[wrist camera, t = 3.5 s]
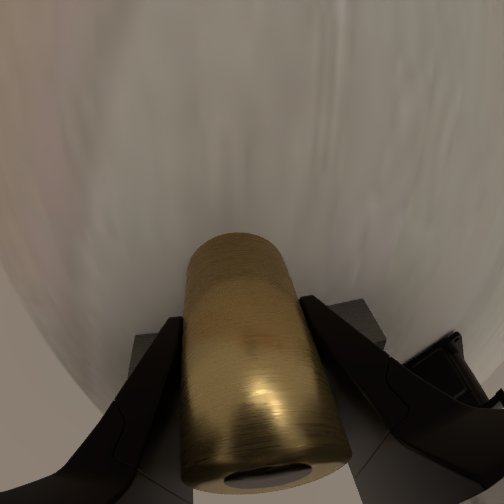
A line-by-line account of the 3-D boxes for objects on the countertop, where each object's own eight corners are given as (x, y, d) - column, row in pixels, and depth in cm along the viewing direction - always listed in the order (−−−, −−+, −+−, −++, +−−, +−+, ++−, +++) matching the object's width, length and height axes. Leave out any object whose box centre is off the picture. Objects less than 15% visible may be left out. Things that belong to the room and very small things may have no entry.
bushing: (302, 279, 11) (373, 459, 5) (228, 326, 12) (250, 500, 6) (246, 212, 10) (304, 432, 4) (166, 272, 10) (144, 478, 4)
